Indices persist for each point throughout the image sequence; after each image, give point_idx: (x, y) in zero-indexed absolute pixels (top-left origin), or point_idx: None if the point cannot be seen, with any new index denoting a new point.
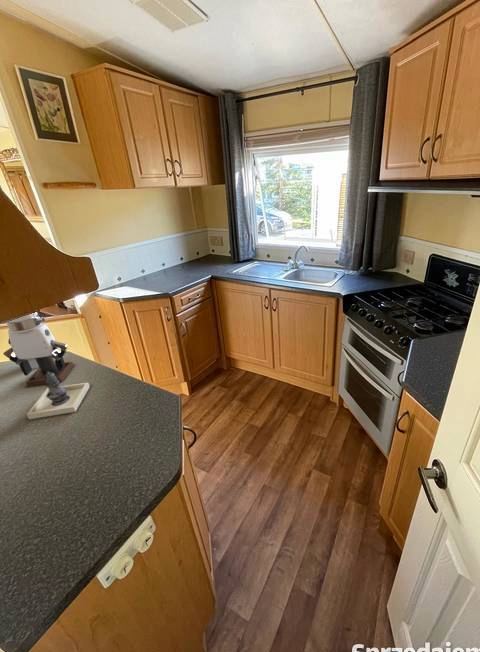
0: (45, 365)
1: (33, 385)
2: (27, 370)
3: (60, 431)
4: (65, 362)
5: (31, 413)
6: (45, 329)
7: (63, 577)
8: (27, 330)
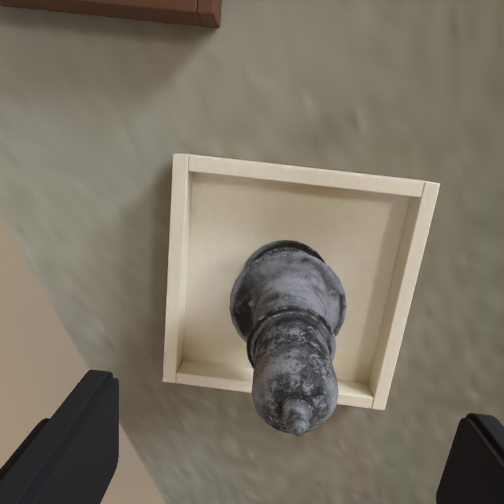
0: None
1: (35, 8)
2: (98, 476)
3: (336, 486)
4: None
5: (184, 382)
6: None
7: None
8: None
